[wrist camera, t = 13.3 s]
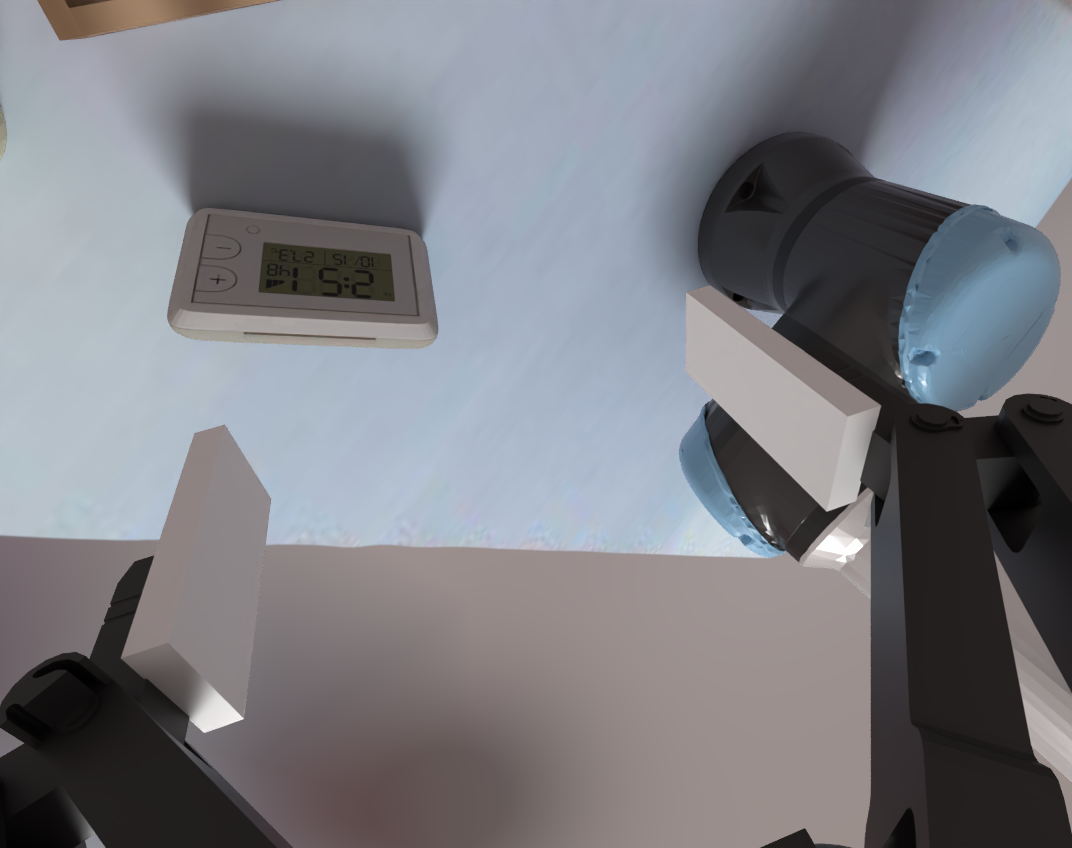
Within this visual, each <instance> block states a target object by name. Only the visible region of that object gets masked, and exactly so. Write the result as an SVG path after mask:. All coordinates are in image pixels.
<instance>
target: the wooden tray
mask: <svg viewBox="0 0 1072 848" xmlns="http://www.w3.org/2000/svg"><path fill="white" fill-rule="evenodd" d="M274 1H280V0H38V2H39V4H40V6H41V8H42V9H43V11H44V13H45V15H46V17H47V18H48V20H49V22H50V24H51V26H52V27H53V29H54V31H55V33H56V35H57V36H58V38H59V40H72V39H83V38H88V37H94V36H99V35H104V34H109V33H114V32H119V31H125V30H130V29H135V28H140V27H145V26H150V25H156V24H161V23H166V22H171V21H176V20H181V19H187V18H192V17H197V16H202V15H207V14H212V13H218V12H223V11H228V10H233V9H238V8H243V7H249V6H254V5H259V4H264V3H269V2H274Z"/></svg>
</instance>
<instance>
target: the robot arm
mask: <svg viewBox="0 0 1072 848" xmlns="http://www.w3.org/2000/svg"><path fill="white" fill-rule="evenodd" d="M698 254H699V261H700V265H701V269H702V271H703V274H704V276H705V278H706V280H707V281H708V283H709V284H710V285H711V286H710V285H709V286H706V287H702V288H699V289H695V290H692V291H688V292H686V372H687V373H688V374H689V375H690V376H691V377H692V378H693V379H694V380H695V381H696V382H697V383H698V384H699V385H700V386H701V387H702V388H703V389H704V390H705V391H706V392H707V393H708V394H709V395H710V396H711V397H712V398H713V399H712V400H711V401H709V402H708V403H707V404H705V405H704V406H703V408H702V410H701V413H700V415H699V417H698V418H697V420H696V421H695V422H694V424H693V425H692V426H691V428H690V429H689V430H688V432H687V433H686V434H685V436H684V437H683V439H682V441H681V444H680V448H679V458H680V462H681V466H682V470H683V473H684V475H685V477H686V479H687V481H688V483H689V485H690V487H691V488H692V490H693V491H694V493H695V494H696V496H697V497H698V499H699V500H700V502H701V503H702V504H703V505H704V507H705V508H706V509H707V510H708V512H709V513H710V514H711V515H712V516H713V517H714V518H715V520H716V521H717V522H718V523H719V524H720V525H721V526H722V527H723V528H724V529H725V530H726V531H727V532H728V533H729V534H731V535H732V536H733V537H738V538H739V539H740V540H741V542H742V543H743V544H744V545H745V546H746V547H747V548H749V549H750V550H752V551H753V552H755V553H757V554H759V555H762V556H765V557H775V556H777V555H782V554H784V553H785V552H786V551H787V552H788V553H789V554H790V555H791V556H793V557H794V558H795V559H796V560H797V561H798V562H799V563H800V564H801V565H802V566H804V567H821V568H831V569H834V570H838V571H840V572H841V573H842V574H843V575H844V576H845V577H846V578H848V579H849V580H850V581H851V582H852V583H853V584H854V585H855V586H856V587H857V588H859V589H860V590H861V591H862V592H863V593H864V594H865V595H866V596H867V597H869V598H870V599H871V798H870V807H869V813H868V818H867V824H866V833H865V847H864V848H1072V833H1071V828H1070V823H1069V819H1068V814H1067V810H1066V805H1065V801H1064V797H1063V794H1062V791H1061V788H1060V784H1059V781H1058V779H1057V778H1056V776H1055V774H1054V773H1053V772H1052V770H1051V769H1050V768H1048V767H1046V766H1045V765H1043V764H1041V763H1039V762H1038V761H1037V759H1036V758H1035V756H1034V753H1033V750H1032V746H1033V747H1034V748H1035V749H1036V750H1037V751H1038V752H1039V753H1040V754H1041V755H1042V756H1044V757H1045V758H1046V759H1047V760H1048V761H1049V762H1050V763H1051V764H1052V765H1054V766H1055V767H1056V768H1057V769H1058V770H1059V771H1060V772H1061V773H1062V774H1063V775H1065V776H1066V777H1067V778H1068V779H1069V780H1070V781H1071V782H1072V404H1070V403H1068V402H1065V401H1063V400H1061V399H1058V398H1055V397H1052V396H1048V395H1042V394H1021V395H1014V396H1012V397H1010V398H1008V399H1006V401H1005V403H1004V405H1003V407H1002V409H1001V411H1000V414H999V415H998V416H986V417H972V418H964V417H963V416H961V415H960V414H959V413H957V412H956V411H961V410H965V409H968V408H970V407H973V406H974V405H975V403H976V402H977V400H981V401H982V400H985V399H988V398H989V397H991V396H992V395H993V394H995V393H996V392H997V391H998V390H1000V389H1001V388H1002V387H1003V386H1004V385H1005V384H1007V383H1008V382H1009V381H1010V380H1011V379H1012V378H1013V377H1014V376H1015V374H1016V373H1017V372H1018V371H1019V370H1020V369H1021V367H1022V366H1023V365H1024V364H1025V362H1026V361H1027V360H1028V359H1029V357H1030V356H1031V355H1032V353H1033V352H1034V350H1035V349H1036V347H1037V345H1038V344H1039V342H1040V340H1041V338H1042V337H1043V335H1044V333H1045V331H1046V329H1047V327H1048V325H1049V323H1050V320H1051V318H1052V315H1053V313H1054V307H1055V303H1056V300H1057V297H1058V294H1059V288H1060V278H1061V277H1060V276H1061V273H1060V263H1059V259H1058V255H1057V253H1056V250H1055V248H1054V246H1053V245H1052V243H1051V242H1050V240H1049V239H1048V238H1047V237H1046V236H1045V235H1044V234H1043V233H1042V232H1040V231H1039V230H1037V229H1036V228H1034V227H1032V226H1029V225H1027V224H1024V223H1021V222H1018V221H1016V220H1013V219H1010V218H1007V217H1004V216H1001V215H1000V214H999V213H998V212H997V211H995V210H994V209H991V208H989V207H987V206H982V205H976V204H973V205H970V204H967V203H963V202H959V201H956V200H952V199H949V198H945V197H942V196H938V195H935V194H931V193H927V192H924V191H920V190H917V189H913V188H910V187H906V186H902V185H899V184H895V183H892V182H887V181H884V180H881V179H877V178H875V177H874V176H873V175H872V174H871V173H870V172H869V171H868V170H867V169H866V168H865V167H864V166H862V165H861V164H860V163H859V162H858V161H857V160H856V159H855V158H854V157H853V156H852V155H851V153H850V152H849V151H848V150H847V149H846V148H845V147H843V146H842V145H840V144H839V143H837V142H835V141H833V140H831V139H828V138H825V137H821V136H817V135H813V134H808V133H800V132H798V133H787V134H782V135H778V136H775V137H773V138H770V139H768V140H766V141H764V142H762V143H760V144H758V145H757V146H755V147H754V148H752V149H751V150H749V151H748V152H747V153H745V154H744V155H743V156H742V157H741V158H740V159H739V160H738V161H736V162H735V163H734V165H733V166H732V167H731V168H730V169H729V170H728V171H727V172H726V174H725V175H724V176H723V178H722V179H721V180H720V182H719V183H718V185H717V186H716V188H715V190H714V192H713V193H712V195H711V197H710V199H709V202H708V204H707V206H706V209H705V211H704V214H703V217H702V221H701V225H700V230H699V238H698ZM742 307H743V308H746V309H750V310H757V311H764V312H771V313H778V314H783V315H782V317H781V318H780V319H779V320H778V321H777V323H776V324H775V325H774V326H773V327H772V328H770V327H769V326H767V325H766V324H764V323H763V322H761V321H760V320H759V319H757V318H756V317H754V316H753V315H752V314H750V313H749V312H747V311H746V310H744V309H743V308H742ZM791 342H792V343H791ZM798 347H799V348H798ZM801 349H802V350H801ZM270 504H271V498H270V496H269V495H268V493H267V492H266V490H265V488H264V487H263V485H262V484H261V482H260V480H259V479H258V477H257V475H256V474H255V472H254V471H253V469H252V467H251V466H250V464H249V463H248V461H247V459H246V458H245V456H244V455H243V453H242V451H241V450H240V448H239V447H238V445H237V443H236V442H235V440H234V439H233V437H232V435H231V434H230V432H229V431H228V429H227V427H226V426H225V425H222V426H218V427H215V428H211V429H208V430H204V431H201V432H197V433H194V437H193V440H192V443H191V446H190V449H189V452H188V455H187V458H186V461H185V464H184V467H183V470H182V473H181V476H180V479H179V482H178V485H177V488H176V491H175V494H174V498H173V501H172V504H171V507H170V510H169V513H168V516H167V519H166V522H165V525H164V528H163V531H162V534H161V537H160V540H159V543H158V546H157V550H156V552H155V555H154V556H151V557H148V558H145V559H141V560H138V561H135V562H134V563H133V565H132V566H131V567H130V568H129V570H128V571H127V572H126V573H125V575H124V576H123V577H122V579H121V580H120V581H119V583H118V584H117V587H116V590H115V592H114V595H113V598H112V601H111V603H110V604H111V607H110V608H108V611H107V614H106V616H105V619H104V622H105V624H104V625H102V627H101V630H100V632H99V635H98V638H97V640H96V643H95V646H94V648H93V651H92V654H91V656H90V659H88V658H87V657H86V656H84V655H82V654H79V653H77V652H72V653H63V654H60V655H58V656H55V657H53V658H50V659H48V660H45V661H44V662H43V663H41V664H39V665H38V666H36V667H35V668H33V669H32V670H30V671H29V672H28V673H27V674H25V676H23V677H22V678H21V679H20V680H19V681H18V682H17V683H16V684H15V685H14V686H13V687H12V688H11V690H10V691H9V693H8V694H7V695H6V697H5V698H4V700H3V701H2V703H1V706H0V728H2V729H3V730H5V731H6V732H8V733H9V734H11V735H13V736H14V737H16V738H17V739H19V740H21V741H22V742H24V744H22V745H21V746H19V747H17V748H16V749H14V750H12V751H11V752H9V753H7V754H6V755H4V756H2V757H1V758H0V848H86V843H85V840H86V839H88V838H89V837H91V836H92V835H94V834H95V833H96V835H97V836H98V837H99V839H100V840H101V842H102V843H103V844H104V846H105V847H106V848H293V847H292V846H291V845H290V844H289V843H288V842H287V841H286V840H285V839H284V838H283V837H282V836H281V835H280V834H279V833H278V832H277V831H276V830H275V829H274V828H273V827H272V826H271V825H270V824H269V823H268V822H267V821H266V820H265V819H264V818H263V817H262V816H261V815H260V814H259V813H258V812H257V811H256V810H255V809H254V808H253V807H252V806H251V805H250V804H249V803H248V802H247V801H246V800H245V799H244V798H243V797H242V796H241V795H240V794H239V793H238V792H237V791H236V790H235V789H234V788H233V787H232V786H231V785H230V784H229V783H228V782H227V781H226V780H225V779H224V778H223V777H222V776H221V775H220V774H219V773H218V772H217V771H216V770H215V769H214V768H213V767H212V766H211V765H210V764H209V763H208V762H207V761H206V760H205V759H204V758H203V757H202V755H200V754H199V753H198V752H197V750H196V749H195V748H194V747H192V746H191V745H190V744H189V743H188V742H187V741H185V737H186V732H187V727H188V722H189V720H190V721H192V722H193V723H194V724H195V725H196V726H197V727H199V729H201V730H202V731H203V732H204V733H205V732H208V731H211V730H213V729H217V728H220V727H222V726H225V725H228V724H231V723H234V722H236V721H239V720H242V719H244V714H245V706H246V698H247V690H248V682H249V674H250V665H251V657H252V649H253V641H254V633H255V625H256V617H257V609H258V600H259V593H260V585H261V577H262V568H263V560H264V552H265V544H266V536H267V528H268V520H269V512H270ZM761 848H850V847H846V846H841V845H833V844H814V843H813V841H812V839H811V838H810V836H809V834H808V832H807V831H806V829H802V830H800V831H798V832H795V833H793V834H791V835H788V836H786V837H784V838H781V839H779V840H777V841H775V842H772V843H770V844H768V845H765V846H763V847H761Z"/></svg>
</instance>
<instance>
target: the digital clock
mask: <svg viewBox="0 0 1072 848" xmlns="http://www.w3.org/2000/svg"><path fill="white" fill-rule="evenodd" d="M167 318H168V322H169V324H170V326H171V327H172V329H173V330H174V331H175V332H176V333H178V334H180V335H182V336H185V337H187V338H191V339H195V340H206V341H224V342H244V343H268V344H293V345H317V346H341V347H366V348H395V349H419V348H424V347H426V346H429V345H431V344H432V343H433V342H434V341H435V339H436V337H437V334H438V321H437V313H436V307H435V300H434V293H433V286H432V279H431V273H430V266H429V259H428V252H427V247H426V244H425V242H424V241H423V240H422V238H421V237H420V236H419V235H418V234H417V233H416V232H414V231H411V230H406V229H399V228H391V227H383V226H374V225H365V224H356V223H347V222H338V221H329V220H320V219H310V218H301V217H292V216H283V215H274V214H265V213H256V212H247V211H237V210H227V209H216V208H203V209H200V210H198V211H197V212H196V213H195V214H194V215H193V216H192V217H191V218H190V219H189V221H188V223H187V226H186V230H185V235H184V239H183V244H182V248H181V252H180V257H179V261H178V266H177V270H176V275H175V279H174V284H173V288H172V292H171V297H170V301H169V307H168V313H167Z"/></svg>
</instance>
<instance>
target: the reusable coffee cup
mask: <svg viewBox="0 0 1072 848" xmlns="http://www.w3.org/2000/svg"><path fill="white" fill-rule="evenodd" d="M6 140H7V134H6V123H5V119H4V116H3V113H2V110H1V106H0V160H1V158H2V156H3V154H4V152H5V146H6Z"/></svg>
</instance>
